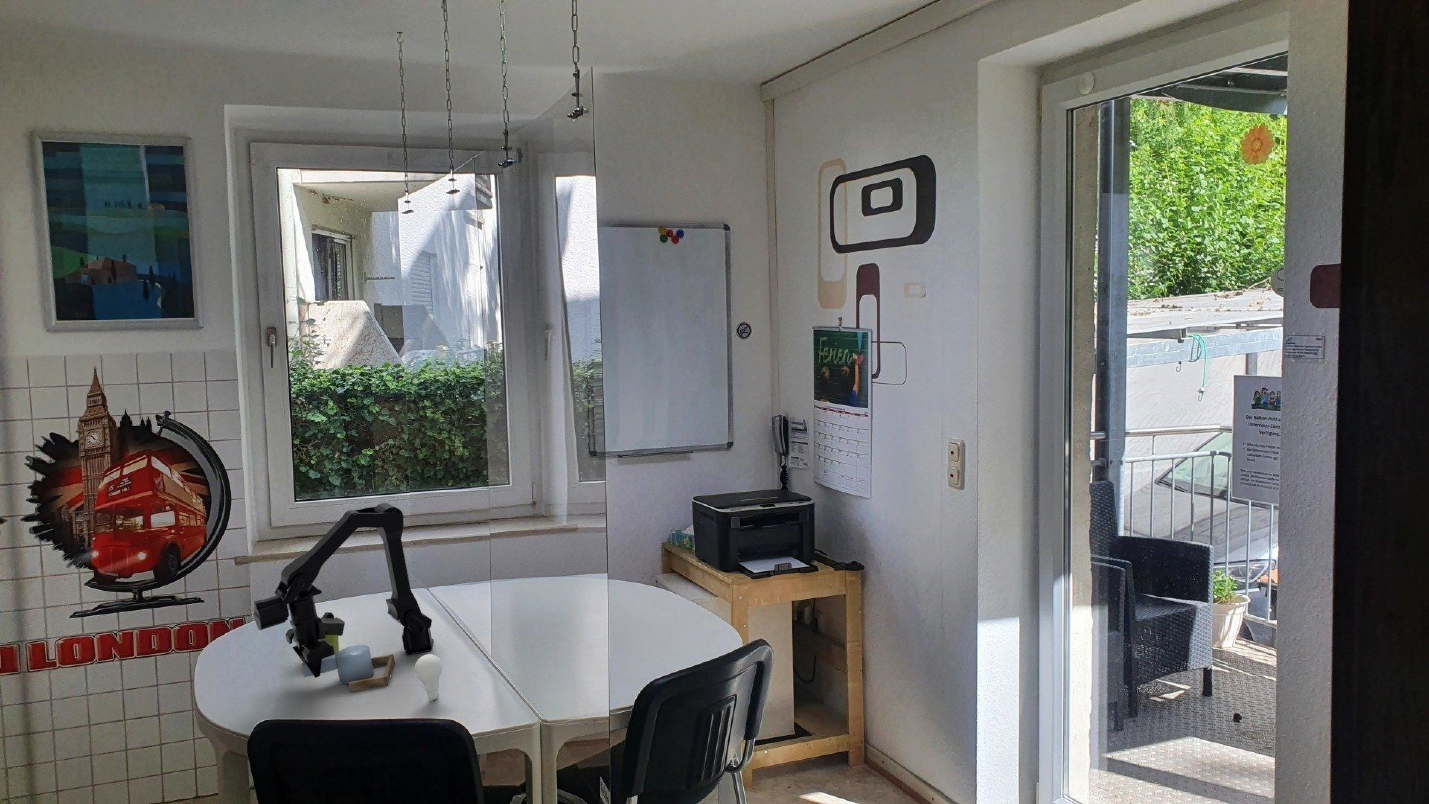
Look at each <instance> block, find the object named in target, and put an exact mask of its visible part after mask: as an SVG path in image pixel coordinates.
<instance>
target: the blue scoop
mask: <svg viewBox="0 0 1429 804" xmlns="http://www.w3.org/2000/svg"><path fill="white" fill-rule="evenodd" d="M371 658H372V654H371V651H370V647H369V645H366V644H357V645H352V646H351V645H350V646H348V647H345V648H342V649H341V650H340V649H339V652H338V653H336V655H332V656H329V657H326V658H324V659H322V663H321V672H320V674H323V673H327V672H332V671H336V670H337V673H338V677H339V678H338V679H339V682H340V684H344V685H349V682H353V681H358V680H364V679H369V678H372V676H373V675H374V673H375V671H374V667H373V665H372V660H371ZM301 667H302V671H303V676H304V678H307V677H311V676H314V675H313V674H312V672H311V671H310V669H309V668H308V667H307V665H306V664H305V662H302V664H301Z"/></svg>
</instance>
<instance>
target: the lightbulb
mask: <svg viewBox="0 0 1429 804" xmlns="http://www.w3.org/2000/svg"><path fill="white" fill-rule="evenodd" d="M442 671H443V663H442V660H441V659H440V658H439V656H436V655H435V654H431V653H430V654H429V653H428V654H424V655H422V656H421V657H419V658H418V659H417V661H416V663H415V665H414V673H415V675H416V677H417V679H419V681H420V682H421V683H422V686H423V687H424V691H425V692H426V695H427V698H428V700H432V701H434V700H436V699H437V698H439V696H440V692H439V691H440V690H439V687H440V683H439V682H440V677H441V674H442Z"/></svg>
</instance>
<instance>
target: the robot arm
mask: <svg viewBox="0 0 1429 804" xmlns="http://www.w3.org/2000/svg"><path fill="white" fill-rule="evenodd" d="M404 519H405V518H404V514H403V511H402V510H401V509H400V508H398V507H396V506H394V505H393V504H390V503H389V502H381V503H379V504H377V505H376V506H370V507H369V506H368V507H363V508H359V509H349V510H347V511H345V512H344V513H343V515H342V517H341V518H339V520H337V522H336V523H335V524H334V525H333V526H332V527H331V528H330V529H329V530H328V531H327V532H326V533H325V534H324V535H323V536H322V537H321V538H320V539H319V540H318V541H317V543H315V544H314V546H313V547H311V549H310V550H309V551H307V552H306V553H305V554H303V555H301V556H299V557H297V558H295V559H294V560H293V561H292V562H290V563H289V564H287V565H286V566H285V567H283V569H282V571H281V573H280V581H279V584H278V585H277V587H276V589H275V590H274V596H271V597H267V598H265V599H259V600H255V601H254V602H253V606H254V607H253V617H254V621H255V624H256V627H257V629H258V630H259V631H262V630H266V629H268V628H269V629H270V628H272V627H275V626H278V625H281V624H282V625H283V624H284V623H286V621H288V620H289V616H290V618H291V619H290V620H289V624H290V626H291V627H292V628H288V630H287V631H286V633H285V640H286V642H287V643H288V644H289V645H291V644H293V642H294V643H295V646H292V649H293V651H294V652H295V653H296V655H297V656H298V657H299V659H300V660H301V661H302V663H303V662H305V664H306V665H307V667H308V668H309V669H310V671H311V672H312V674H313V675H312V676H313V677H314V678H319V677H320V676H321V673H320V672H321V663H322V659H324V658H326V657H329V656H332V655H334V654H335V652H334V647H333V646H332V645H331V644H330V643H329V642H327V641H325V640H324V641H321V642H320V641H319V639H324V638H326V637H325V635H338V637H342V636H343V634H344V631H345V630H344V629H345V625H346V622H345V621H344V620H343V619H341V618H338V617H336V616H335V614H334V613H333V612H331V611H329V612H328V611H326V612H324V614H323V615H322V616H321V617H319V616H318V613H317V609H316V603H315V598H314V596H318V595H321V594H322V593H323V591H322V590H321V589H320V588H319V587H317V586H315V584H314V582H315V581H316V579H317V578H318V576H319V573H320V571H321V569H322V567H323V566H324V565H325V563H326V562H327V561H328V560H329V559H330V558H331V557H332V556H333V554H335V552H337V550H338V549H339V548H341V546H342V545H343V544H345V542H346V541H347V540H348V539H349V538H350V537H351V536H352V535H353V534H354V533H355V532H356V530H358V529H362V528H366V529H367V528H370V529H371V528H372V529H373V528H375V529H376V531H377V533H378V534H379V536H380V538H381V540H382V544H383V548H384V554H385V558H386V559H385V560H386V565H387V570H388V575H389V580H390V585H391V586H390V587H391V591H392V592H391V596H390V598H387V599H385V602H386V605H387V608H388V609H387V614H388V615H389V616H390V617H391V618H392V619H393V620H395V621H396V622H397V623H399V625H401V626H403V629H402V631H403V632H402V634H401V640H402V645H403V650H404V651H405V655H406V656H408V654H409V655H413V653H415V654H420V652H421V653H425V652H430V651H432V650H433V645H434V638H433V637H432V632H431V627H432V622H433V619H432V618H430V617H429V616H428V615H426V614H424V613H423V612H422V610H421V608H420V605H419V603H418V601H417V599H416V597H415V595H414V593H413V592H412V590H411V584H410V578H409V573H408V567H407V563H406V562H407V561H406V559H405V558H406V556H405V551H404V547H403V541H402V536H403V533H404V527H405V526H404V525H405V523H404V521H405V520H404Z"/></svg>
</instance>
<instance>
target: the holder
mask: <svg viewBox="0 0 1429 804" xmlns="http://www.w3.org/2000/svg"><path fill="white" fill-rule="evenodd" d="M371 660H372V665H373V668H375V667H380V666H381V667H382V666H386V667H385V671H384V673H383V675H382V676H376V677H370V678H368V679H364V680H358V681H353V682H349V684H348V686H349V692H350V693H352V692H358V691H364V690H368V689H375V688H381V687H386V686H389V685H388V684H390V681H391V677H390V675H391V676H392V674H391V673H393V669H394V665H395V663H396V662H395V655H394V654H393V653H392V654H385V655H379V656H373V657H371ZM389 680H390V681H389Z"/></svg>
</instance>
